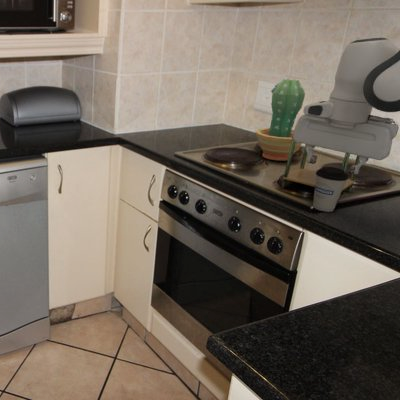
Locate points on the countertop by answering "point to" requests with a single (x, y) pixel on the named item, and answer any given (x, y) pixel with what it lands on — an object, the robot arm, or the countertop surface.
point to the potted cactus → (282, 120)
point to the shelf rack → (310, 175)
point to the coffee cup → (328, 187)
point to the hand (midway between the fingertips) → (331, 167)
